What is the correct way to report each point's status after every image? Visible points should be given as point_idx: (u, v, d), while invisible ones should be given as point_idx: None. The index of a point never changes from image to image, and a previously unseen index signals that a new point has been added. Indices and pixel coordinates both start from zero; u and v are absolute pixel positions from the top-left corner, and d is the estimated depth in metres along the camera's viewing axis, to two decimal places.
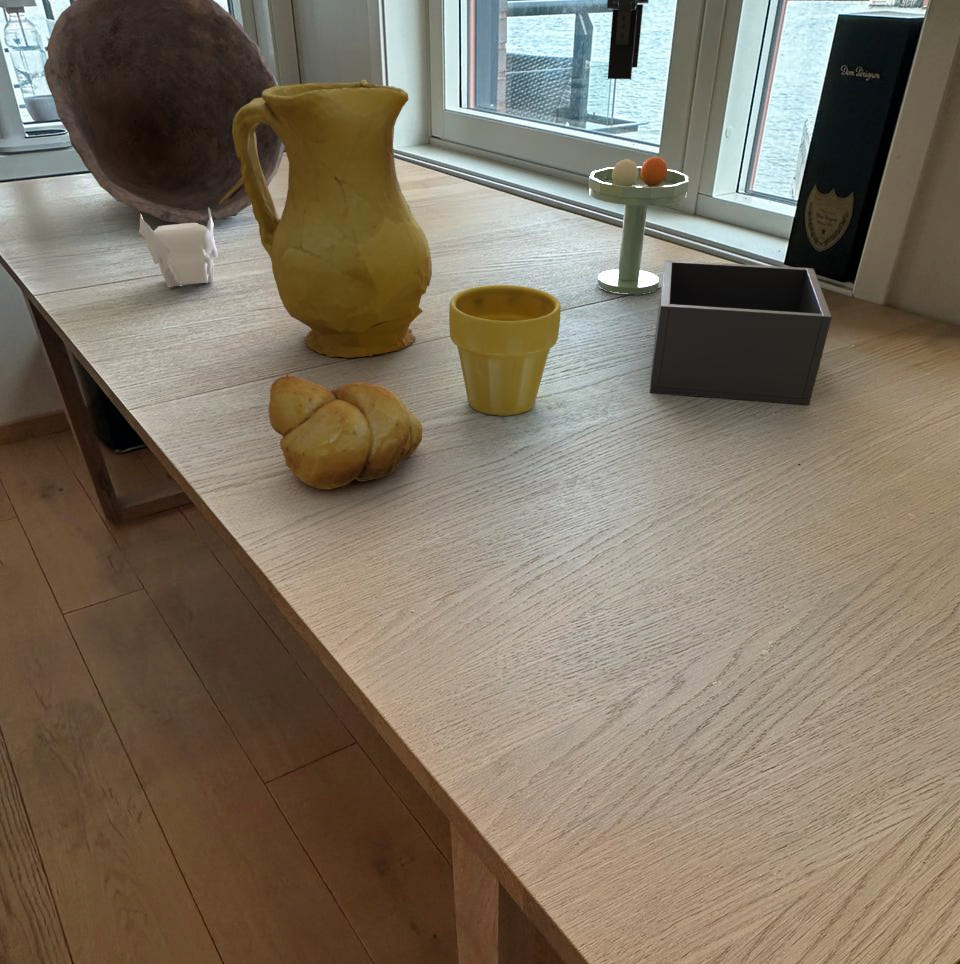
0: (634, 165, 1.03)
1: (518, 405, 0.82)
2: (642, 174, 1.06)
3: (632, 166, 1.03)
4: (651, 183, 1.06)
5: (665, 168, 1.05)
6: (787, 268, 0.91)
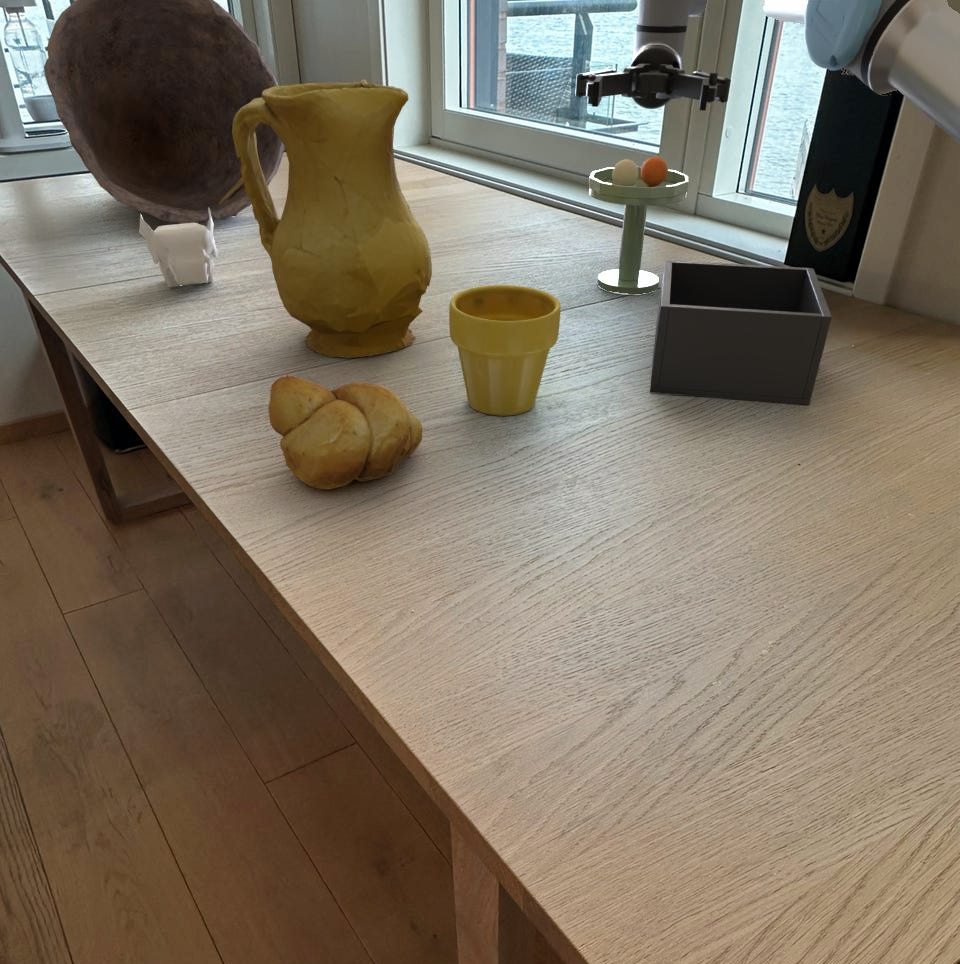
0: (634, 165, 1.03)
1: (518, 405, 0.82)
2: (642, 174, 1.06)
3: (632, 166, 1.03)
4: (651, 183, 1.06)
5: (665, 168, 1.05)
6: (787, 268, 0.91)
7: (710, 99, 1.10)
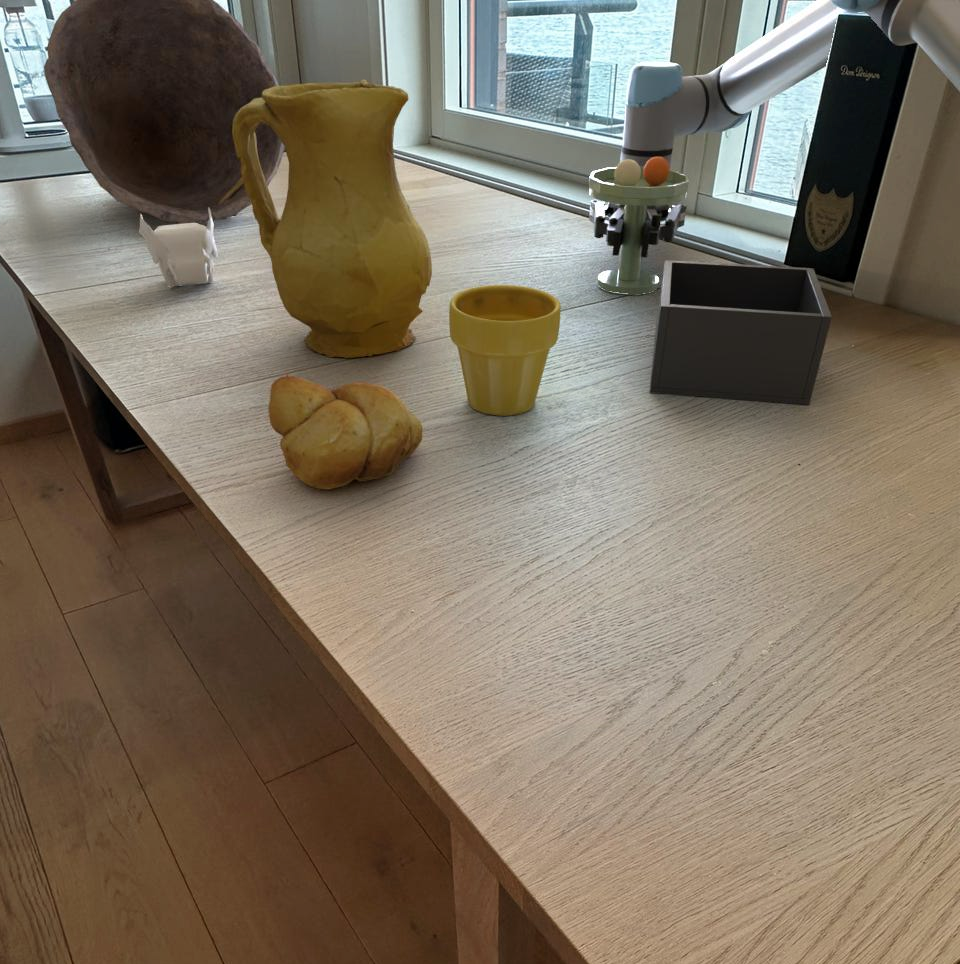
0: (638, 166, 1.04)
1: (518, 405, 0.82)
2: (645, 171, 1.06)
3: (636, 166, 1.03)
4: (652, 181, 1.06)
5: (668, 169, 1.05)
6: (787, 268, 0.91)
7: (653, 243, 1.08)
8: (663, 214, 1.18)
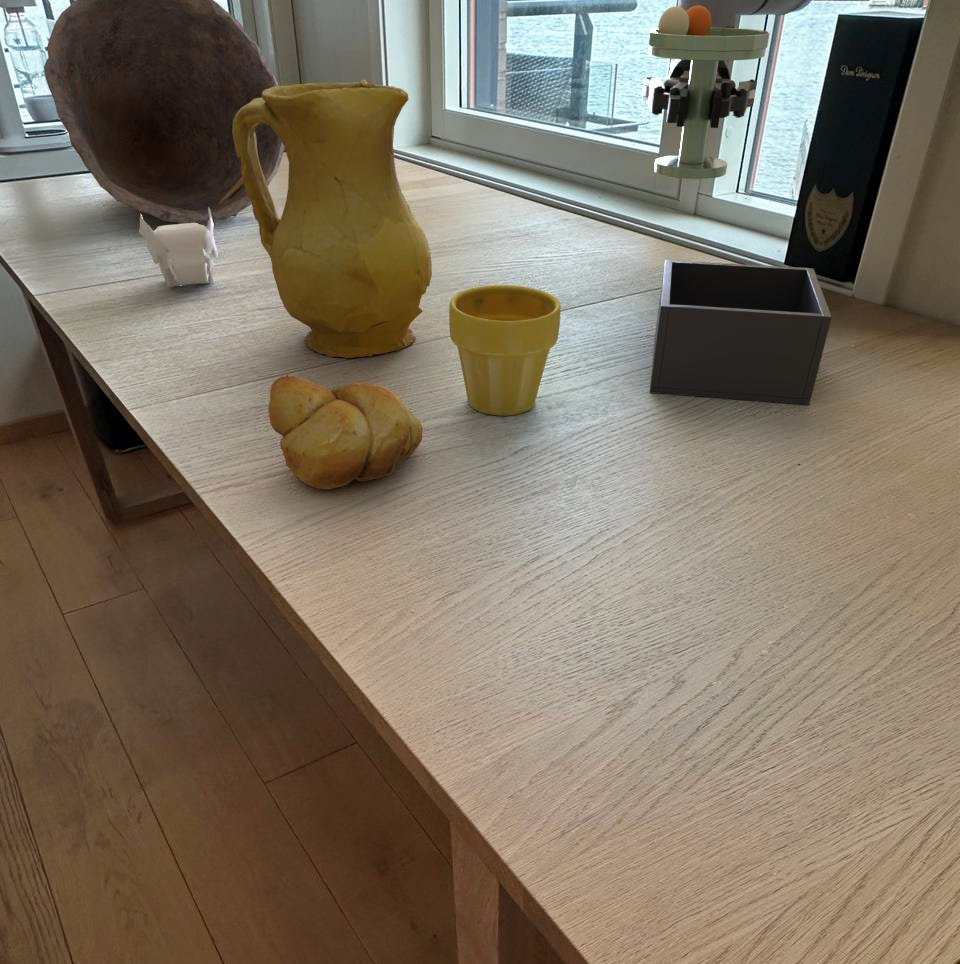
0: None
1: (518, 405, 0.82)
2: None
3: None
4: None
5: None
6: (787, 268, 0.91)
7: (723, 114, 0.91)
8: None
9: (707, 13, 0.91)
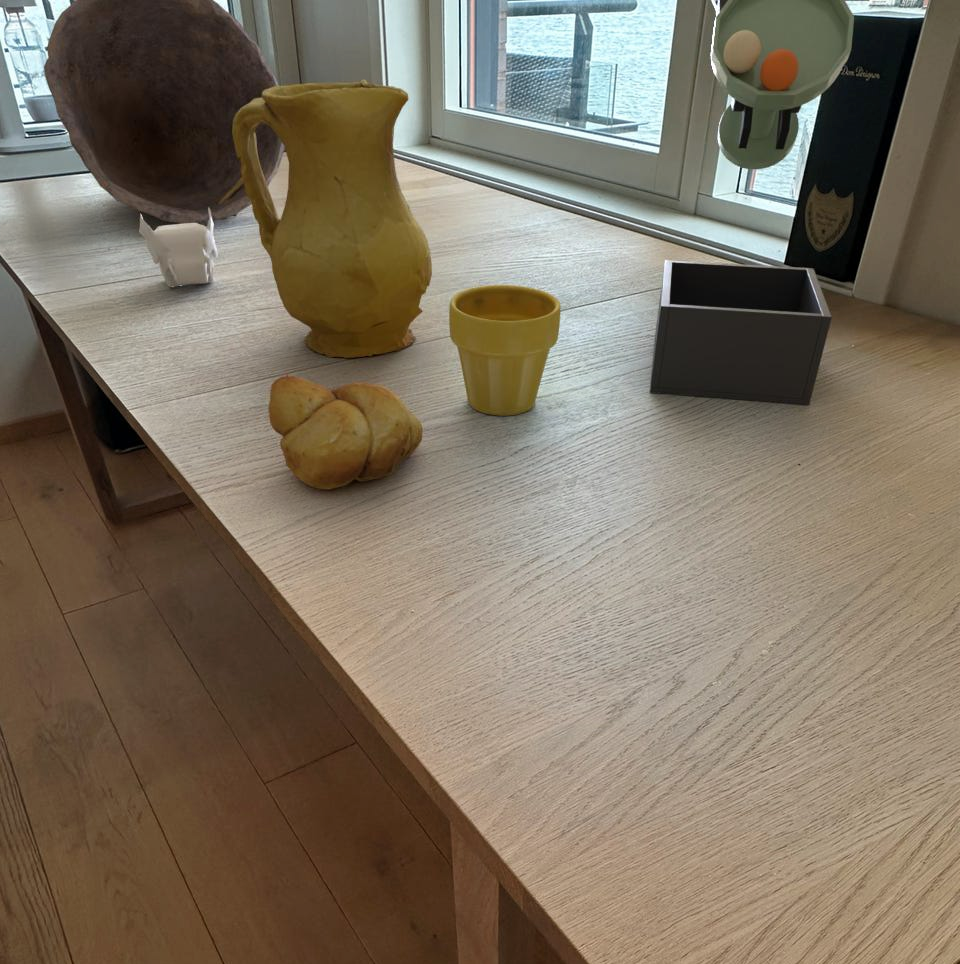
0: (735, 52, 0.76)
1: (518, 405, 0.82)
2: (779, 78, 0.75)
3: (731, 52, 0.76)
4: (766, 66, 0.75)
5: None
6: (787, 268, 0.91)
7: (794, 111, 0.83)
8: None
9: (785, 49, 0.75)
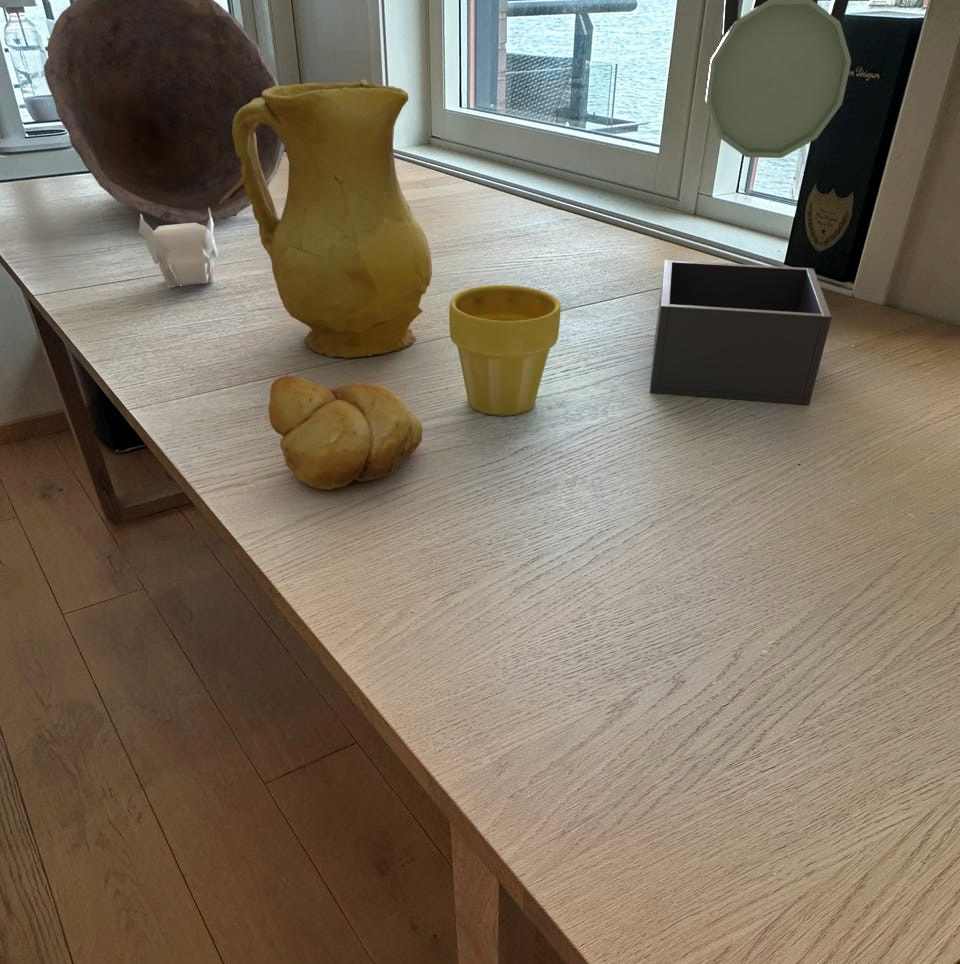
0: None
1: (518, 405, 0.82)
2: None
3: None
4: None
5: None
6: (787, 268, 0.91)
7: None
8: None
9: None
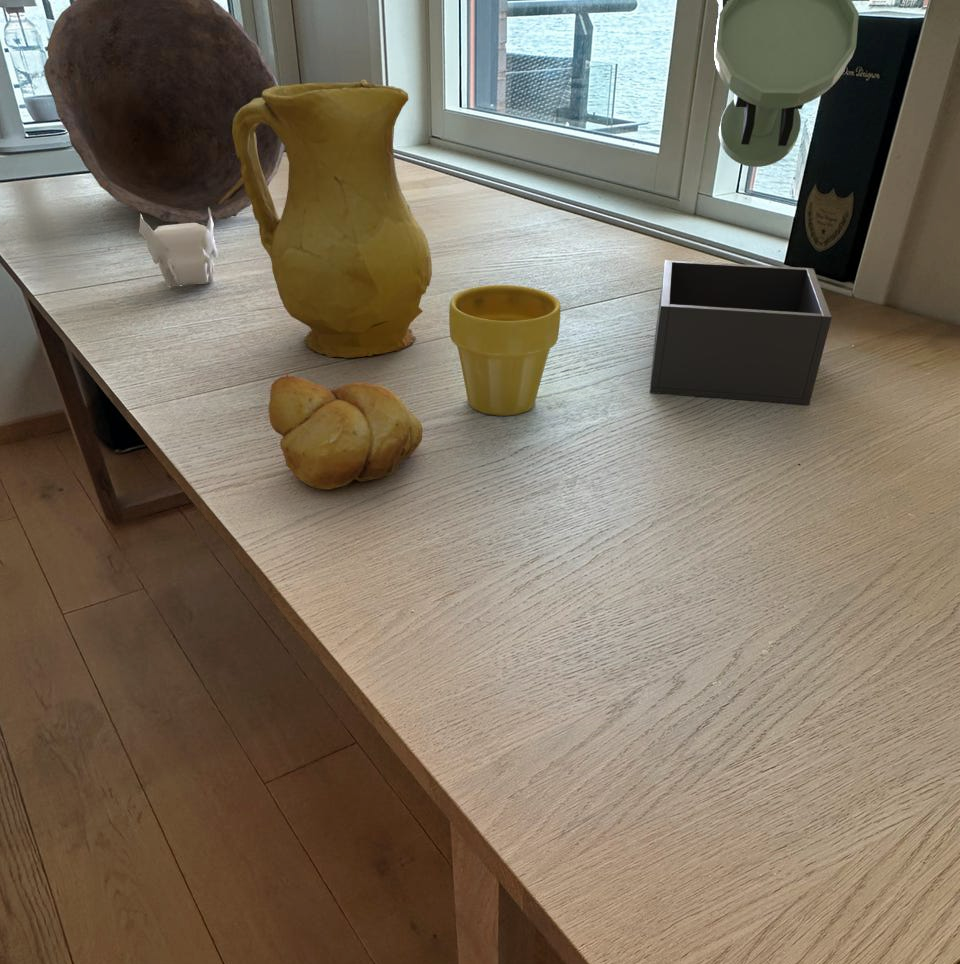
0: None
1: (518, 405, 0.82)
2: None
3: None
4: None
5: None
6: (787, 268, 0.91)
7: (797, 107, 0.82)
8: None
9: None
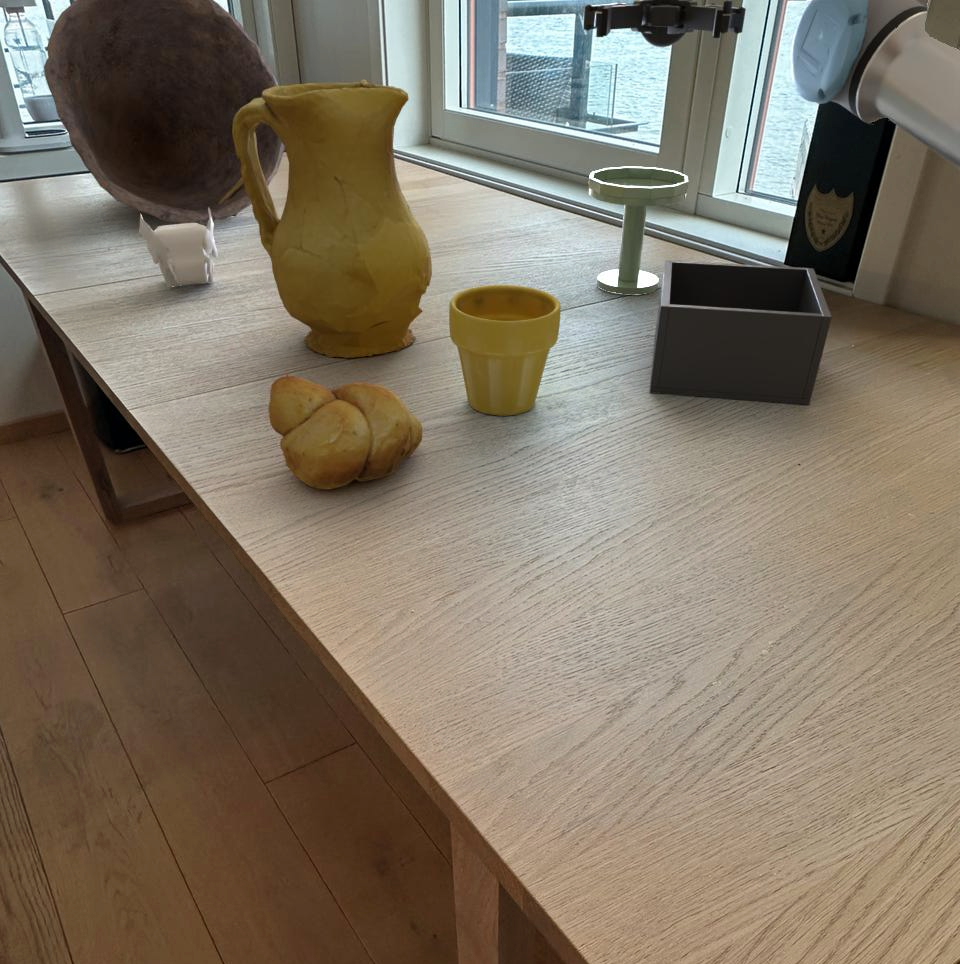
0: None
1: (518, 405, 0.82)
2: None
3: None
4: None
5: None
6: (787, 268, 0.91)
7: (724, 27, 1.05)
8: None
9: None
